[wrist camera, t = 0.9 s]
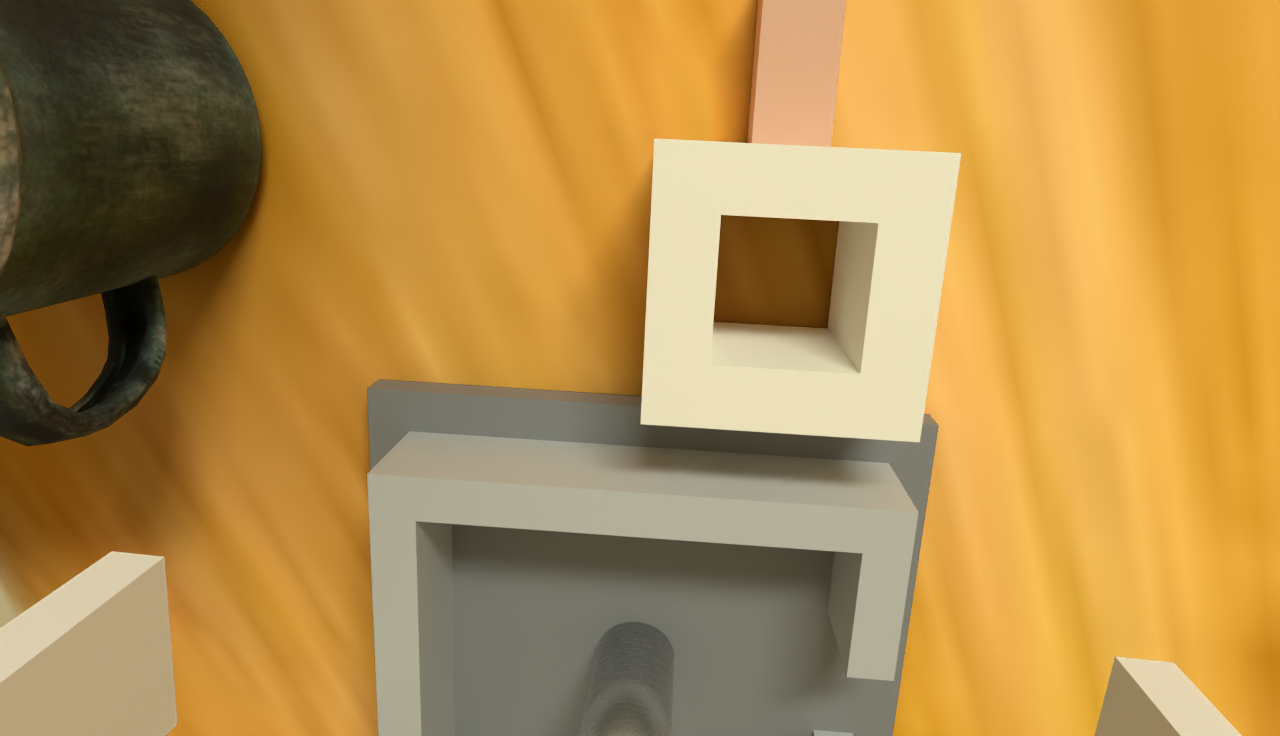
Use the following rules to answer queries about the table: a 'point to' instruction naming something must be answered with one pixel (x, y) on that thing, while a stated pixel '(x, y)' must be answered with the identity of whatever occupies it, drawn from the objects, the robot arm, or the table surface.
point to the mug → (112, 183)
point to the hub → (863, 271)
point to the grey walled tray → (633, 563)
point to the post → (630, 683)
